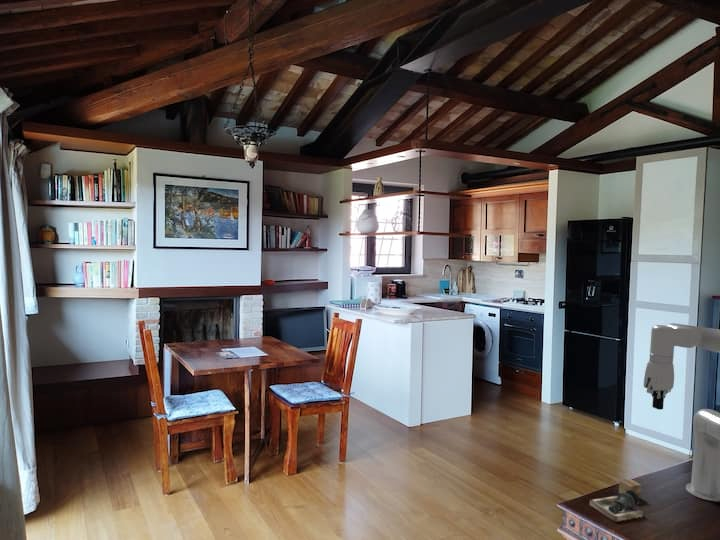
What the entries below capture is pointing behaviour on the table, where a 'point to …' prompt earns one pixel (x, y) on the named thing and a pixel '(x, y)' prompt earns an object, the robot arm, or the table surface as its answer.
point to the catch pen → (603, 507)
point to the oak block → (629, 486)
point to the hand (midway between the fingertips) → (657, 408)
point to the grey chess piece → (624, 502)
